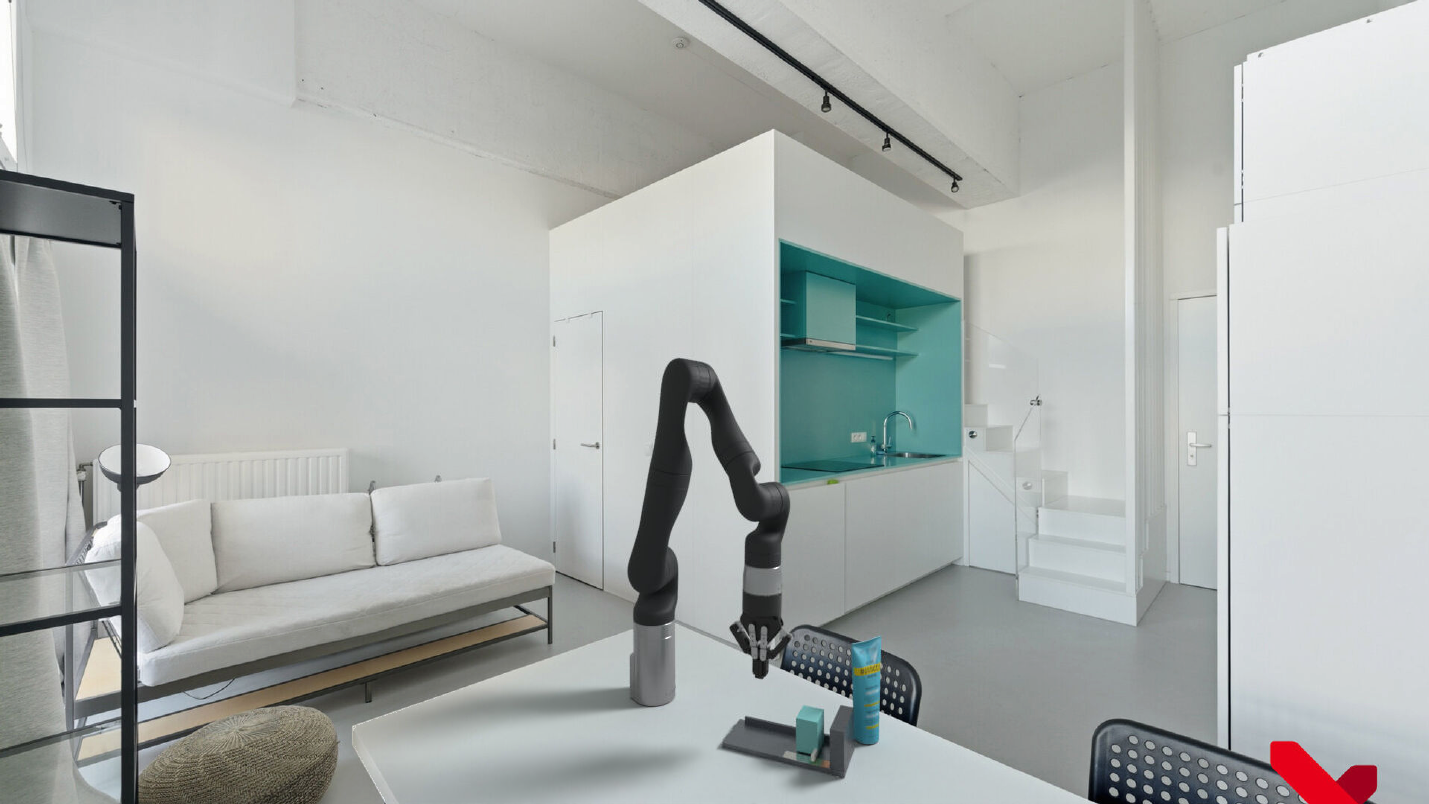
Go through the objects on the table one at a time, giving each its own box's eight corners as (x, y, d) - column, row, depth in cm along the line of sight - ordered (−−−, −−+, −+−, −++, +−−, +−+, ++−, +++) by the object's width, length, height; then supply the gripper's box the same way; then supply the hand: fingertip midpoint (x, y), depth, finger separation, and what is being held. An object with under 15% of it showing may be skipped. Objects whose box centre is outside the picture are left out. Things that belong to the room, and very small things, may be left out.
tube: (862, 750, 112) (861, 647, 111) (843, 738, 116) (843, 639, 116) (889, 737, 116) (888, 638, 116) (870, 726, 120) (869, 630, 120)
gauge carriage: (792, 757, 107) (792, 724, 107) (803, 736, 114) (803, 705, 114) (814, 762, 106) (814, 729, 106) (824, 741, 112) (824, 709, 112)
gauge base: (722, 747, 113) (722, 705, 113) (739, 723, 121) (739, 684, 121) (844, 778, 103) (843, 732, 103) (854, 750, 112) (853, 707, 112)
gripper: (722, 587, 113) (720, 678, 114) (789, 598, 108) (787, 693, 108) (737, 576, 120) (736, 662, 120) (801, 586, 115) (799, 676, 115)
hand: (760, 677), depth 114 cm, fingers closed
